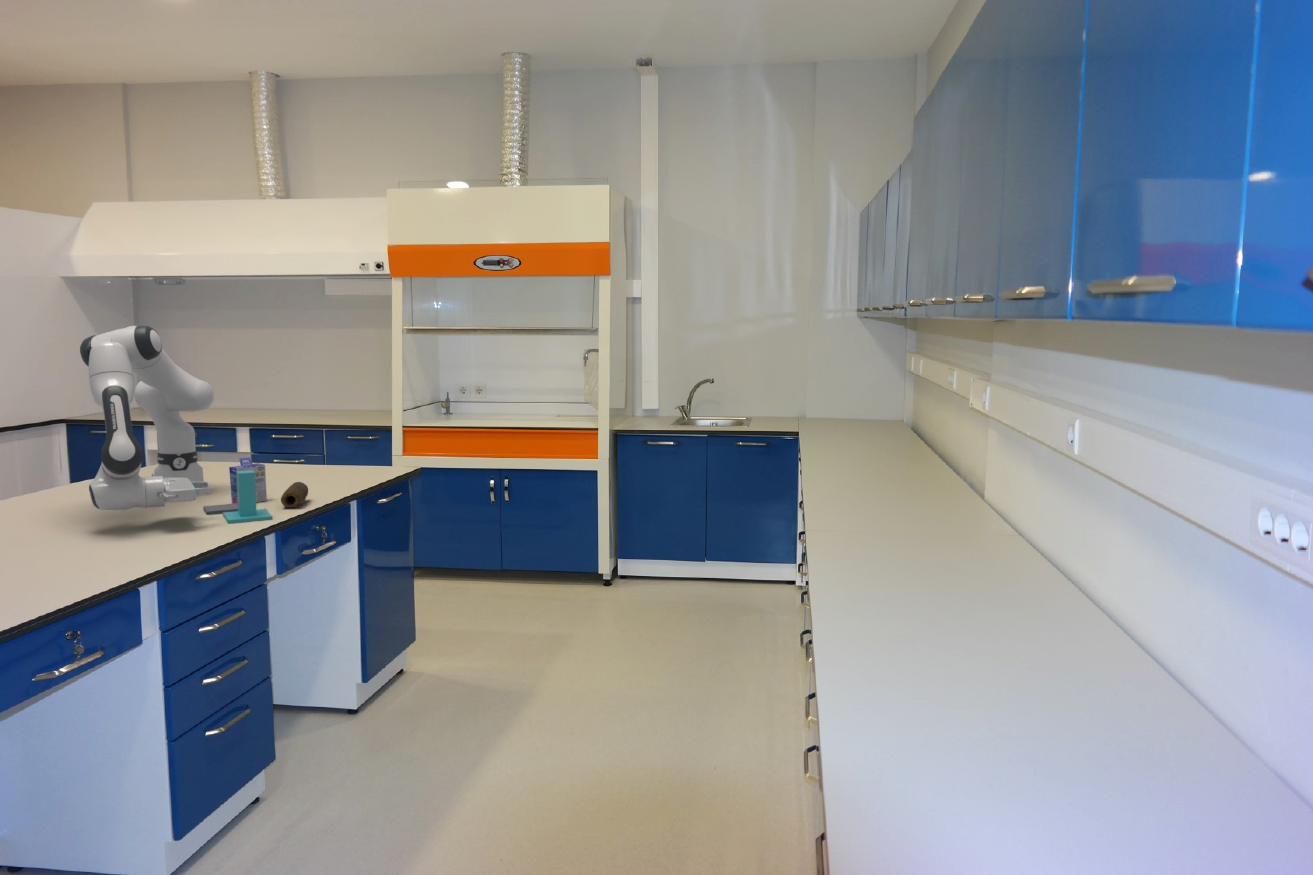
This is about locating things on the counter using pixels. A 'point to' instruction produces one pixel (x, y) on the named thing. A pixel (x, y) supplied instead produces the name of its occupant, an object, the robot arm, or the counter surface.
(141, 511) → the counter surface
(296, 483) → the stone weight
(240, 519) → the teal pad
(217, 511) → the charcoal pad
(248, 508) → the teal column
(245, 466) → the ink cartridge box
